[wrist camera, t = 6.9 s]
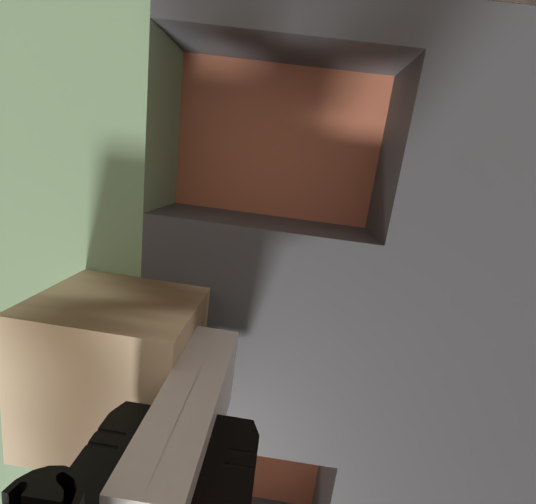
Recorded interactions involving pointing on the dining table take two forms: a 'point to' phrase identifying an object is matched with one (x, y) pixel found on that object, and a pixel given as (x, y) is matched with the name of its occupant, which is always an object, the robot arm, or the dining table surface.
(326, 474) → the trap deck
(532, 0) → the dining table surface
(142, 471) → the robot arm
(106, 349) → the birch block
